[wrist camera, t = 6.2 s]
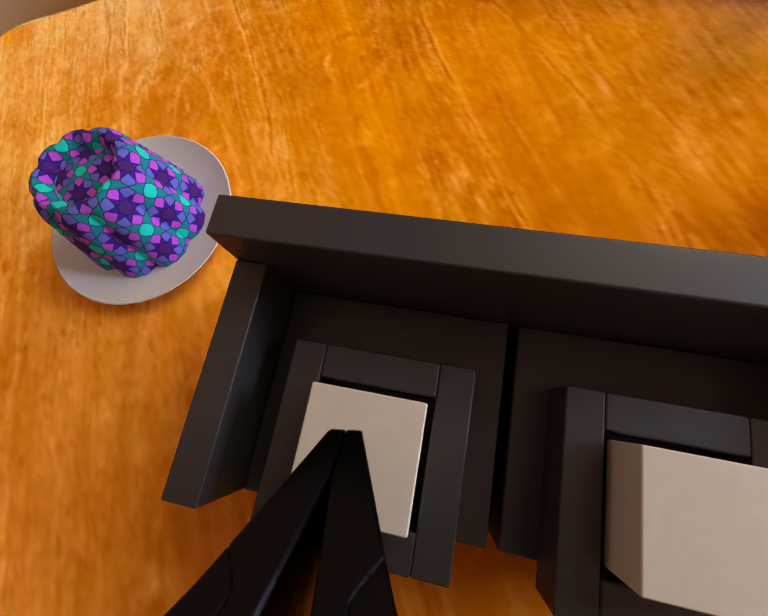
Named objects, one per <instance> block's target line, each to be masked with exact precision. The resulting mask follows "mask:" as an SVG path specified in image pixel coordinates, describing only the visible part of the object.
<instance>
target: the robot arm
mask: <svg viewBox="0 0 768 616" xmlns="http://www.w3.org/2000/svg"><path fill="white" fill-rule="evenodd" d="M164 616H398V615H397V611H396V606H395V602H394V597H393V593H392V588H391V583H390V578H389V573H388V567H387V563H386V557H385V552H384V546H383V541H382V536H381V530H380V525H379V519H378V514H377V509H376V503H375V498H374V492H373V487H372V481H371V476H370V471H369V465H368V460H367V454H366V449H365V443H364V438H363V433H362V431H361V430H347V431H345V430H344V429H330V430H329V431H328V432H327V433H326V434H325V435H324V436H323V438H322V439H321V440H320V441H319V442H318V443H317V444H316V446H315V447H314V448H313V449H312V450H311V451H310V453H309V454H308V455H307V456H306V457H305V458H304V459H303V461H302V462H301V463H300V464H299V465H298V466H297V468H296V469H295V470H294V471H293V472H292V473H291V474H290V476H289V477H288V478H287V479H286V480H285V481H284V483H283V484H282V485H281V486H280V487H279V488H278V489H277V491H276V492H275V493H274V494H273V495H272V496H271V498H270V499H269V500H268V501H267V502H266V503H265V504H264V506H263V507H262V508H261V509H260V510H259V511H258V513H257V514H256V515H255V516H254V517H253V518H252V519H251V521H250V522H249V523H248V524H247V525H246V526H245V528H244V529H243V530H242V531H241V532H240V533H239V534H238V536H237V537H236V538H235V539H234V540H233V541H232V543H231V544H230V545H229V548H226V549H225V550H224V551H223V553H222V554H221V555H220V556H219V557H218V558H217V560H216V561H215V562H214V563H213V564H212V565H211V566H210V567H209V569H208V570H207V571H206V572H205V573H204V574H203V575H202V576H201V577H200V579H199V580H198V581H197V582H196V583H195V584H194V585H193V586H192V587H191V588H190V589H189V590H188V591H187V592H186V594H185V595H184V596H183V597H182V598H181V599H180V600H179V601H178V602H177V603H176V604H175V605H174V606H173V607H172V608H171V609H170V610H169V611H168V612H167V613H166V614H165V615H164Z"/></svg>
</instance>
